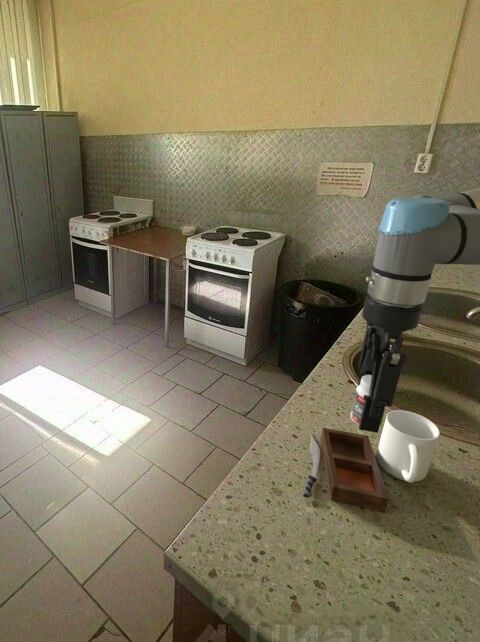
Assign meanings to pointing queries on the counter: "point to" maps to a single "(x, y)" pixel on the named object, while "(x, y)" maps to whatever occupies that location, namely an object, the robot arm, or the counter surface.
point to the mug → (407, 445)
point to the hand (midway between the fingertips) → (364, 419)
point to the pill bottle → (361, 399)
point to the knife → (316, 458)
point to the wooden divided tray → (352, 470)
